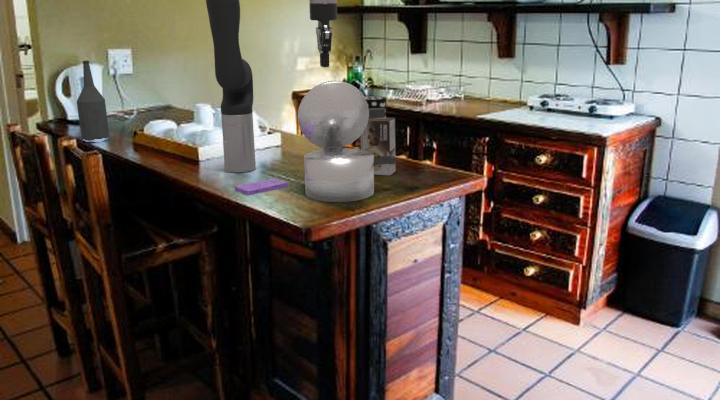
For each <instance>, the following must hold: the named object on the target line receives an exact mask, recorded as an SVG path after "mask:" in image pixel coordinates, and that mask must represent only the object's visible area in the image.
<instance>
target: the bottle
mask: <svg viewBox="0 0 720 400" xmlns="http://www.w3.org/2000/svg"><path fill="white" fill-rule="evenodd" d="M82 66H83V68H82V69H83V71H82V73H83V87H82V89H81V91H80V92H79V95H78V97H77V99H76V107H77V115H78V121H79V122H78V123H79V129H80V135H81V136H80V137H81V140H82V139H85V140H94V139H102V138H107V137H110V130H109V122H108V112H107V106H106V99H105V97H104V96H103V95H102V94H101V92H100V91H99V90H98V89H97V87H96V86H95V84H94V79H93V74H92V70H91V66H90V61H89V60H82ZM110 138H111V137H110Z"/></svg>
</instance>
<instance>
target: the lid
mask: <svg viewBox="0 0 720 400" xmlns="http://www.w3.org/2000/svg"><path fill="white" fill-rule="evenodd" d="M365 97H366V96H364V94H363V93H362V91H360V90H359V89H358V88H357V87H356V86H354V85H353V84H351V83H349V82H346V81H341V80H328V81H325V82H321V83H319V84H317V85H315V86H314V87H312V88H311V89H310V90H309V91H307V93H306V94H305V95H304V97H303V98H302V99H301V102H300V103H299V107H298V111H297V121H298V126H299V128H300V132H301V133H302V135H303V136H304V137H305V139H306V140H307V141H308V142H310V143H311V144H312V145H314V146H316V147H319V148H322V149H333V148H344V147H347V146H348V145H351V144H352V143H354V142H355V141H357V139H360V136H361V134H362V133H363V132H364V130H365V128H366V126H367V123H368V119H369V118H384V117H385V109H384V108H368V104H367V101H366V99H365Z"/></svg>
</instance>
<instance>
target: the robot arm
mask: <svg viewBox="0 0 720 400" xmlns="http://www.w3.org/2000/svg"><path fill="white" fill-rule="evenodd" d="M337 1H338V0H308V2H309V19H310V20H311V21H317V27H315V34H316V43H317V49H318V53H319V66H320V67H322V68H329V67H330V54H331V51H332V39H333V27H331V26H330V24H331V23H330V21H336V20H338V2H337ZM205 3H206V10H207V15H208V20H209V26H210V32H211V37H212V41H213V42H212V43H213V51H214V52H213V53H214V56H213V57H214V73H215V79H216V82H217V84H218V86H220V87H221V89H222V101H221V102H220V103H221V104H220V116H221V117H220V118H221V130H222V131H221V132H222V145H223V147H222V148H223V160H224V162H223V163H224V172H225V173H248V172H252V171H255V170H256V169H257V164H256V149H255V135H254V134H255V132H254V130H255V129H254V117H253V116H254V115H253V104H254V80H253V79H254V78H253V77H254V75H253V70H252V68H251V66H250V64H249V63H248V61H247V60H245V59H244V58H243V57H242V53H241V47H240V41H239V37H240V36H239V34H240V24H241V23H240V22H241V5H240V4H241V3H240V0H205Z"/></svg>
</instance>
